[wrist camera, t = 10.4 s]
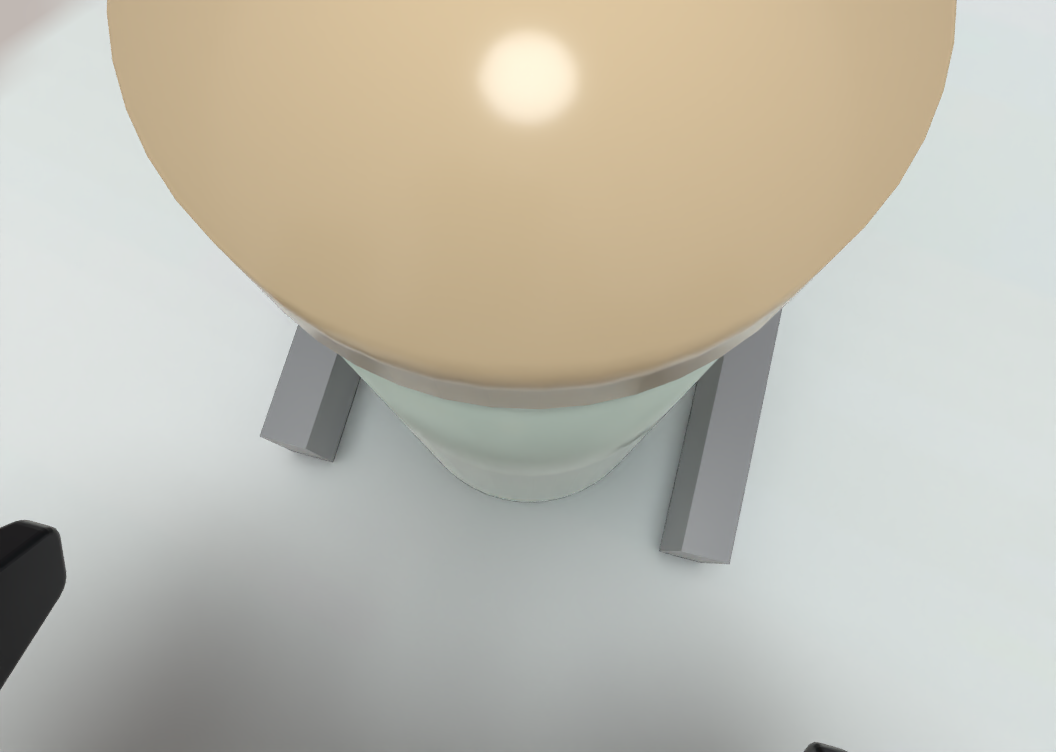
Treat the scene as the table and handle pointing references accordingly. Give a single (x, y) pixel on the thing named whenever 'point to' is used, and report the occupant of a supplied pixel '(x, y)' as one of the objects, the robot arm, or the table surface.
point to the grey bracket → (705, 464)
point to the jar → (531, 189)
